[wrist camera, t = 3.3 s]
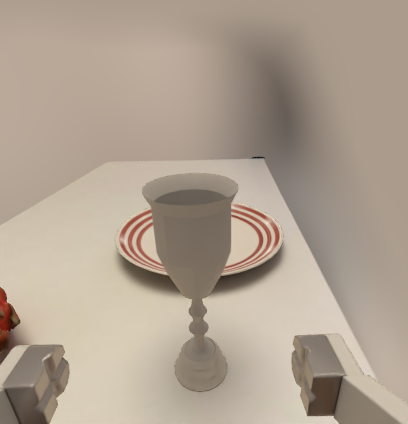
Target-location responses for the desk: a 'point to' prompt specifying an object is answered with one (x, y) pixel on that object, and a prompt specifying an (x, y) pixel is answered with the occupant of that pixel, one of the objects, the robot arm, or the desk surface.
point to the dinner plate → (240, 240)
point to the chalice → (194, 259)
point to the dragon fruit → (6, 320)
